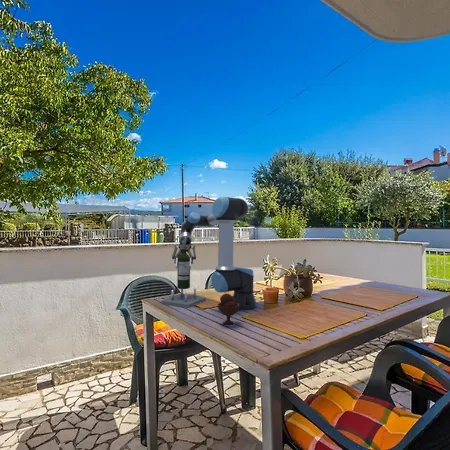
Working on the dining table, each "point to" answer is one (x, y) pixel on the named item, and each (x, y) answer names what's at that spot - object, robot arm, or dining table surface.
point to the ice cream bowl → (228, 307)
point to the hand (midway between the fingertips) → (183, 267)
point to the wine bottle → (183, 269)
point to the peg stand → (183, 300)
